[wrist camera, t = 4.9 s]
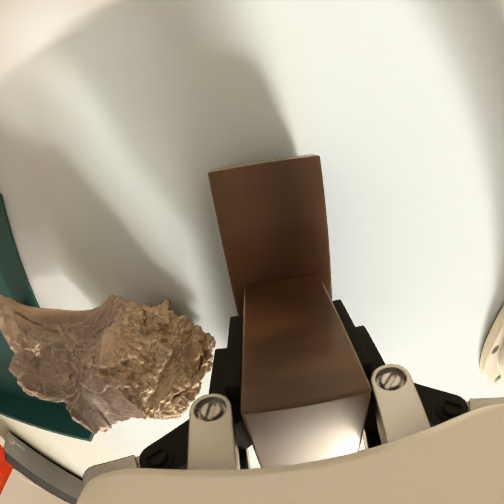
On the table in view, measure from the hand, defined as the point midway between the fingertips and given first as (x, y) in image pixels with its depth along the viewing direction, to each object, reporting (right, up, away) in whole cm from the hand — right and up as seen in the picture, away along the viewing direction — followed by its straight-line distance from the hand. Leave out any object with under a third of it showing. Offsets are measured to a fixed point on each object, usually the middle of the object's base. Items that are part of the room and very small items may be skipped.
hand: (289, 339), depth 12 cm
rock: (-11, -1, +4) cm, 11 cm away
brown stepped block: (0, +1, +3) cm, 3 cm away
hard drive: (-34, -33, +16) cm, 50 cm away
